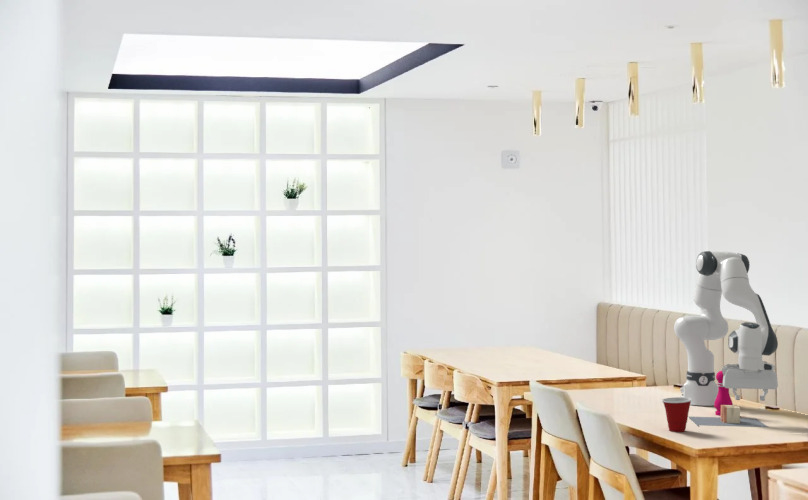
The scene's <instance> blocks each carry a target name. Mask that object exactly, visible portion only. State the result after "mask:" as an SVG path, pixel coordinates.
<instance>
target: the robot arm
mask: <svg viewBox="0 0 808 500" xmlns="http://www.w3.org/2000/svg"><path fill="white" fill-rule="evenodd" d="M750 267H751V266H750V259H749V257H747V255H745V254H744V253H743V254H742V253H739V252H738V253H736V252H731V251H710V250H706V251H701V252H700V253H699V254H698V255H697V258H696V262H695V268H696V270H697V272H698V273H699V274H698V277H697V280H696V281H697V282H696V285H695V290H694V296H693V301H694V304H695V305H696V306H697V307H699V308H700V315H685V316H680V317H678V318H677V319H676V320H675V322H674V324H673V325H674V326H673V331H674V334H675V336H676V337H677V338H678V339H679V340H680V341H681V342H682V344H683V345H684V347H685V350H686V354H687V355H686V357H687V371H686V381H685V382H684V384H683V386H681V387H680V389H679V391H680V393H681V397H685V398H691V399H692V401H691V403H690V406H700V407H701V406H703V407H704V406H705V407H707V406H708V407H710V406H714V402H715V399H716V397H717V395H718V386H717V382H716V381H715V380H716V372H715V355H714V353H713V352H712V351H711V350H710V349H708V348H707V347H706V344H705V341H715V340H716V341H717V340H719V339H720V340H721V339H724V338H726V336H727V334H728V332H729V324H728V321H727V320H726V318H725V317H724V316H723V314H722V312H721V300H722V295H723V297H724V299H725V300H726V301H727V302H728V303H730V304H732V305H735V306H738V307H740V308H743V309H746V310H747V311H749V312H751V313H752V315H753V316H754V318H755V321H756V323H755V322H749V321H748V322H742V323H740V325H739V328H738V329H734V330H732V332H730V333H729V334H728V338H727V339H728V340H727V341H728V342H727V343H728V345H727V346H728V348H729V350H730V351H731V352H732V353H733V354H738V357H737V363H736V364H729V363H728V364H726V365H725V364H724V366H723V375H724V376H723V386H724V387H725V388H729V389H731V391H732V393H733V395H734V400H735V401H740V400H741V398H740V397H741V396H740V395H739V394H737V392H738V389H747V390H751V389H752V390H762V392H763V393H762V395H759V401H761V402H762V401H763V402H765V401H766V396H767V394H768V392H769V390H777V388H778V386H779V383H778V382H779V381H778V375H777V373H776V371H775V369H776V366H775V365H774V364H772V363H770V362H767V361H765V360H764V361H763V356H769V357H770V356H771V355H772V354H774V353H775V352H776V351H777V349H778V345H779V341H778V337H777V334H776V333H775V330H774V329H773V326H772V324H771V321H770V318H769V315H768V313H767V311H766V310H767V309H766V306H765V305H764V303H763V299H762V298H761V296H760V295H759V294H758V293H756V292H755V291H754V290H753V288H752V286H751V283H750V279H749V274H748V273H749V271H750Z"/></svg>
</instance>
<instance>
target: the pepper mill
mask: <svg viewBox="0 0 808 500" xmlns="http://www.w3.org/2000/svg"><path fill="white" fill-rule="evenodd" d="M723 367H724V366H723ZM723 367H721V370H720V371H717V373H715V380H716V381H717V382H716V384H717V386H718V395H717V397H716V399H715V402H714V405H713V406H714V408H715V410H716V411H715V412H714V413H715V416H718V417H721V405H734V404H733V400H732V398H731V396H730V388H725V387H724V386H723V376H724V375H723Z"/></svg>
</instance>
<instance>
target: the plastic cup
mask: <svg viewBox="0 0 808 500" xmlns="http://www.w3.org/2000/svg"><path fill="white" fill-rule="evenodd" d="M691 401H692V399H691V398H685V397H684V396H679V397H667V398H663V399H661V402H662V403H663V406H664V409H665V415H666V421H667V427H668V430H669V432H673V433H684V432H686V427H687V423H688V419H689V412H690V406H691V405H690V403H691Z"/></svg>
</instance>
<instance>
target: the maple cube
mask: <svg viewBox="0 0 808 500" xmlns="http://www.w3.org/2000/svg"><path fill="white" fill-rule="evenodd" d="M720 417H721V421H722V422H724V423H740V418H741V407H739V405H737V404H735V405H734V404H733V405H721V416H720Z"/></svg>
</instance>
